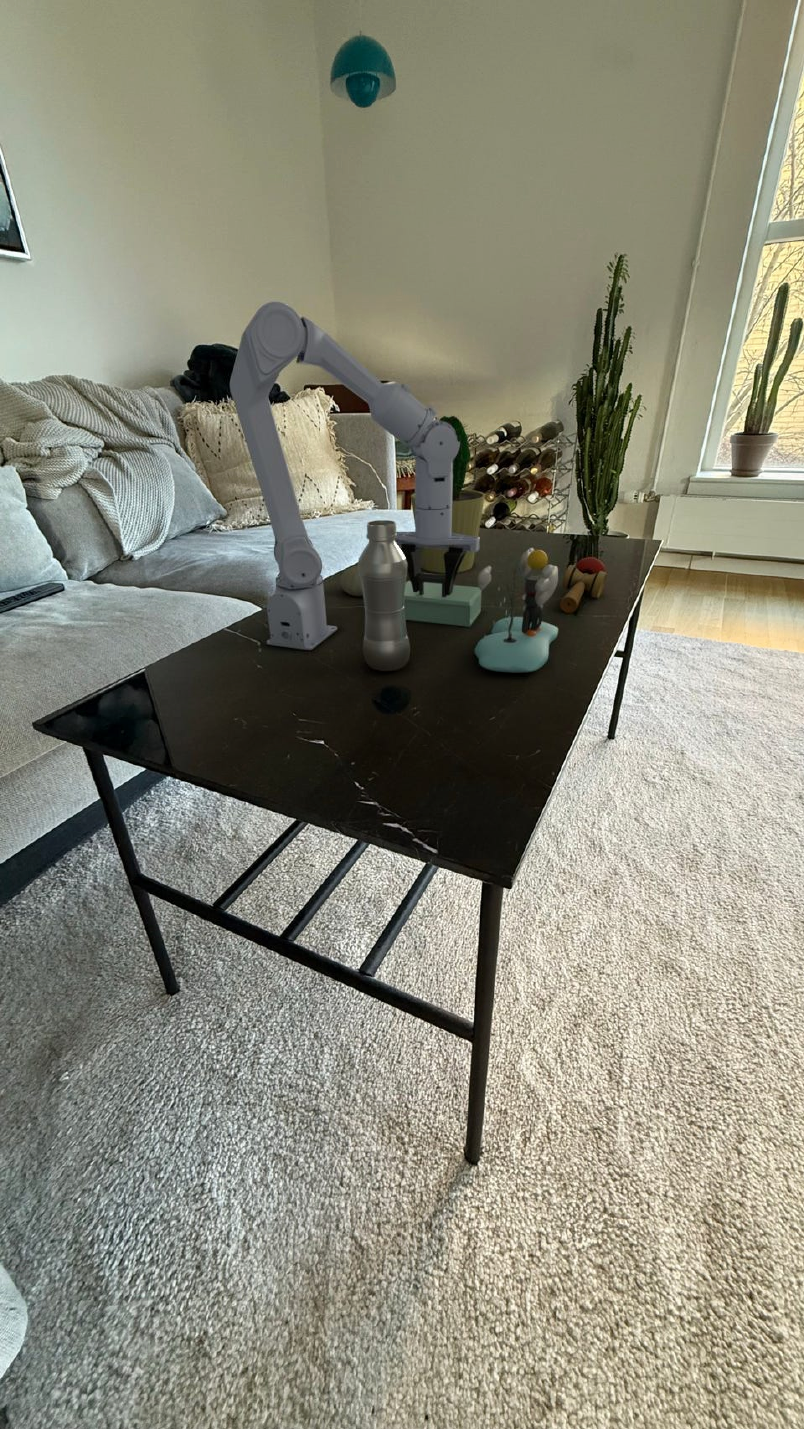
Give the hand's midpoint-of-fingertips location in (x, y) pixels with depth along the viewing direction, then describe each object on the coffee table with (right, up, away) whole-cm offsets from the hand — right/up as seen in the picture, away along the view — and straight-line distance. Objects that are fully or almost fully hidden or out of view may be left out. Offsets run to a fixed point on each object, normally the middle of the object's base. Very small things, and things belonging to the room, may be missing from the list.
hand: (433, 592), depth 98 cm
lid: (+1, 0, +3) cm, 3 cm away
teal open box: (+1, -3, +5) cm, 6 cm away
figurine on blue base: (+12, -11, -9) cm, 19 cm away
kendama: (+28, +1, +11) cm, 30 cm away
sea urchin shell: (-12, +3, +17) cm, 21 cm away
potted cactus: (+5, +12, +32) cm, 35 cm away
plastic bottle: (-7, -14, -13) cm, 20 cm away
